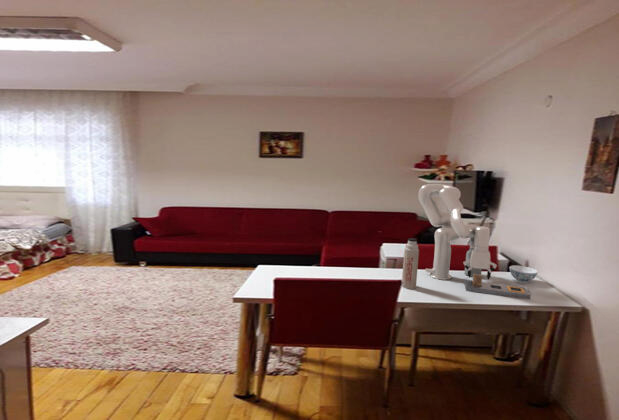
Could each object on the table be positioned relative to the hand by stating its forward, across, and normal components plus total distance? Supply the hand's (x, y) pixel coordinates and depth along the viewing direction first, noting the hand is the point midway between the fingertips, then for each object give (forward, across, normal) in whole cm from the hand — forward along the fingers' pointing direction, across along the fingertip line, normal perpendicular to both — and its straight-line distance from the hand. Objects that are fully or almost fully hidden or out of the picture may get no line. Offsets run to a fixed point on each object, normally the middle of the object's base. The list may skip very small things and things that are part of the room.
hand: (478, 277), depth 206 cm
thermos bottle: (+6, -38, -11) cm, 40 cm away
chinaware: (+7, +28, +27) cm, 39 cm away
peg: (+7, -1, +1) cm, 7 cm away
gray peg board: (+7, +9, +1) cm, 12 cm away
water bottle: (+6, 0, +27) cm, 27 cm away
